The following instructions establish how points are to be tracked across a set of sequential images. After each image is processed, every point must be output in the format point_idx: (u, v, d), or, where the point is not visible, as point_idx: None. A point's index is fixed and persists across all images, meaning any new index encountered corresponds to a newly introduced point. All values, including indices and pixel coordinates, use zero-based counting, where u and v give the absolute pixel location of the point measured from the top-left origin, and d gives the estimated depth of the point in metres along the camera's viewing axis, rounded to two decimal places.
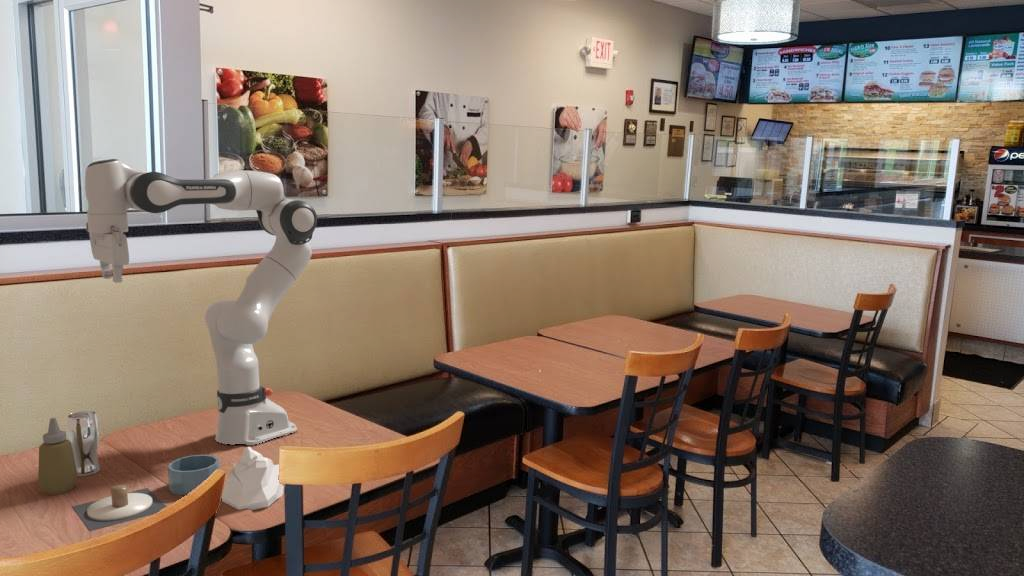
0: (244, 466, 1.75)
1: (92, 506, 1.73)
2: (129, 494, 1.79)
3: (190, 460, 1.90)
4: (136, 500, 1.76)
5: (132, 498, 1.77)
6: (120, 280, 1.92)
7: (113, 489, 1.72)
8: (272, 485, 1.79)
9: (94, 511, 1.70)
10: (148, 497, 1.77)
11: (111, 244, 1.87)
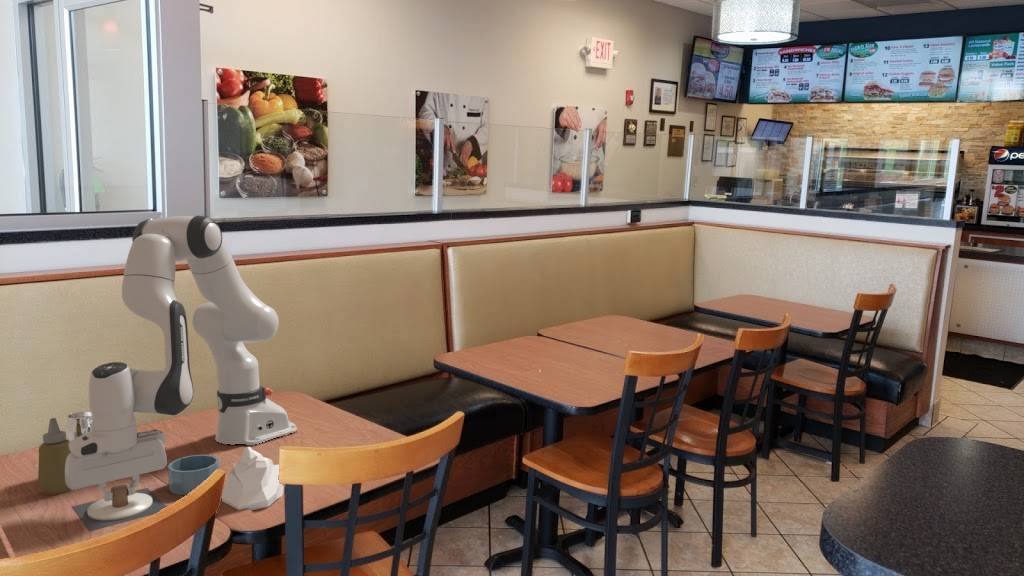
0: (244, 466, 1.75)
1: (92, 506, 1.73)
2: None
3: (190, 460, 1.90)
4: (136, 500, 1.76)
5: (132, 498, 1.77)
6: None
7: (113, 489, 1.72)
8: (272, 485, 1.79)
9: (94, 511, 1.70)
10: (148, 497, 1.77)
11: (161, 448, 1.76)
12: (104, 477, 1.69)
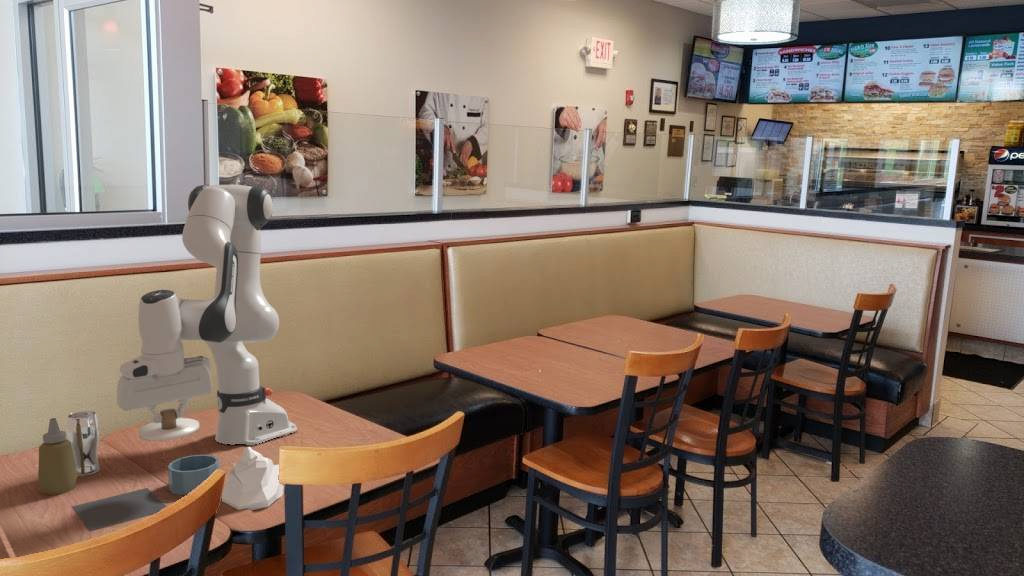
0: (244, 466, 1.75)
1: (142, 429, 1.80)
2: (176, 419, 1.86)
3: (190, 460, 1.90)
4: (184, 424, 1.83)
5: (180, 422, 1.84)
6: None
7: (162, 412, 1.79)
8: (272, 485, 1.79)
9: (145, 432, 1.77)
10: (195, 421, 1.84)
11: (207, 373, 1.83)
12: (154, 399, 1.76)
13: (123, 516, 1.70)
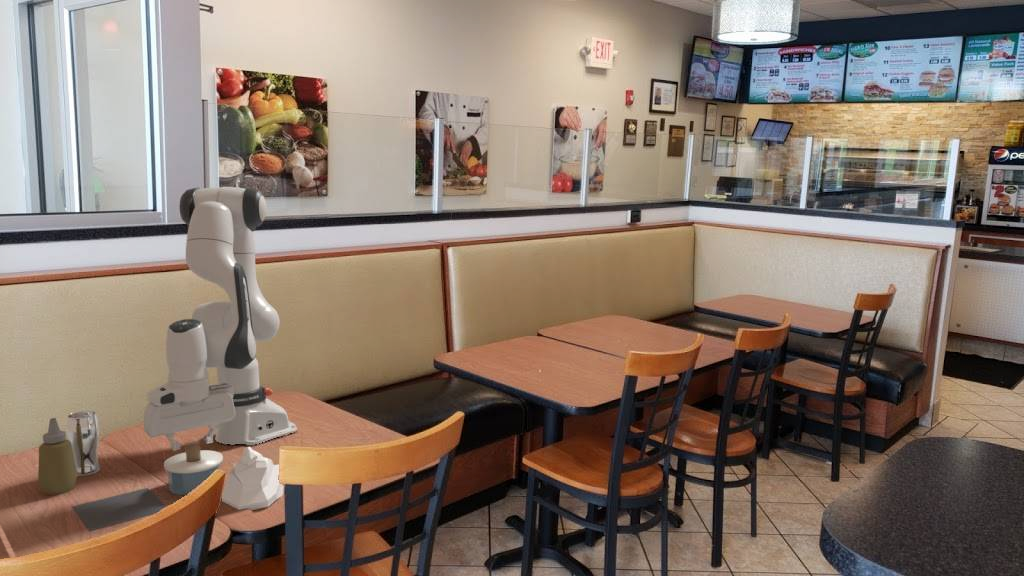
0: (244, 466, 1.75)
1: (167, 461, 1.84)
2: (200, 451, 1.91)
3: None
4: (207, 456, 1.88)
5: (204, 455, 1.88)
6: None
7: (188, 445, 1.84)
8: (272, 485, 1.79)
9: (171, 465, 1.82)
10: (218, 454, 1.89)
11: (230, 400, 1.88)
12: (180, 426, 1.81)
13: (123, 516, 1.70)
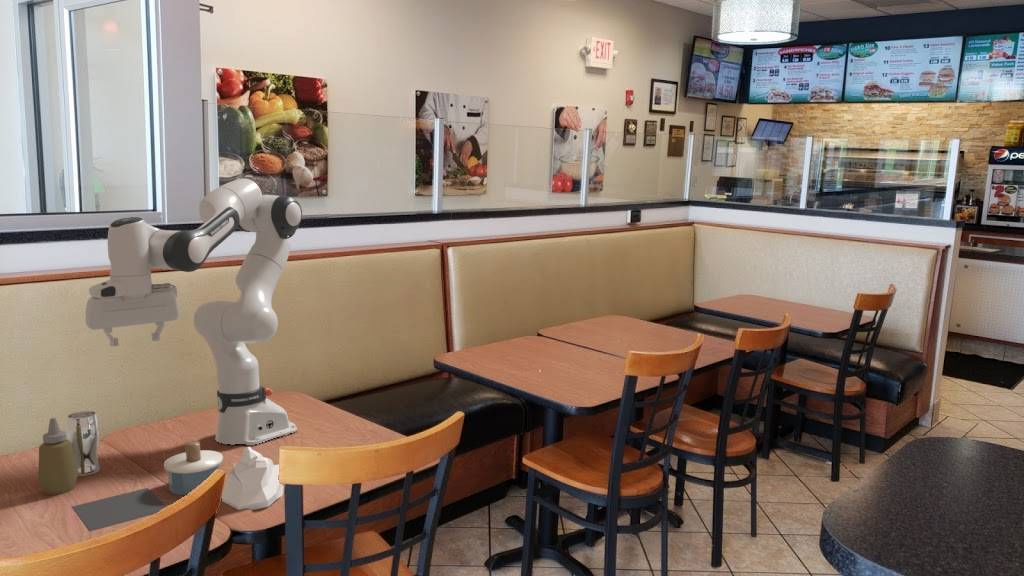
0: (244, 466, 1.75)
1: (167, 461, 1.84)
2: (200, 451, 1.91)
3: None
4: (207, 456, 1.88)
5: (204, 455, 1.88)
6: None
7: (188, 445, 1.84)
8: (272, 485, 1.79)
9: (171, 465, 1.82)
10: (218, 454, 1.89)
11: (173, 300, 1.91)
12: (121, 321, 1.84)
13: (123, 516, 1.70)
